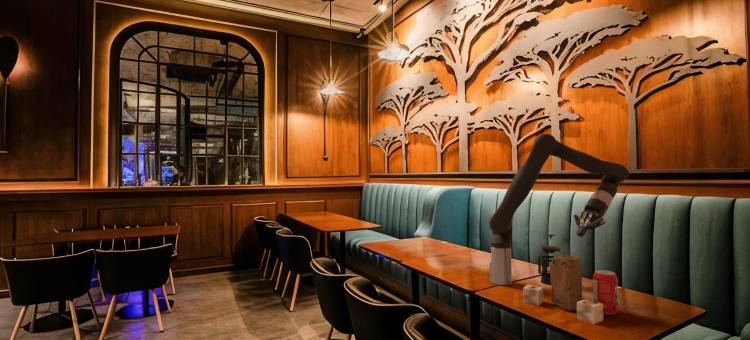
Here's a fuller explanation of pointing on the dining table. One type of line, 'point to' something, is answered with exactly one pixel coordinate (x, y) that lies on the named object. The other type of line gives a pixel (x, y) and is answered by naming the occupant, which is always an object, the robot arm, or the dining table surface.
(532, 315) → the dining table surface
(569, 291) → the block
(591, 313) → the dotted cube two
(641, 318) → the dining table surface
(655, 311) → the dining table surface
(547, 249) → the french press
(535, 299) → the dotted cube one
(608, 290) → the soda can
